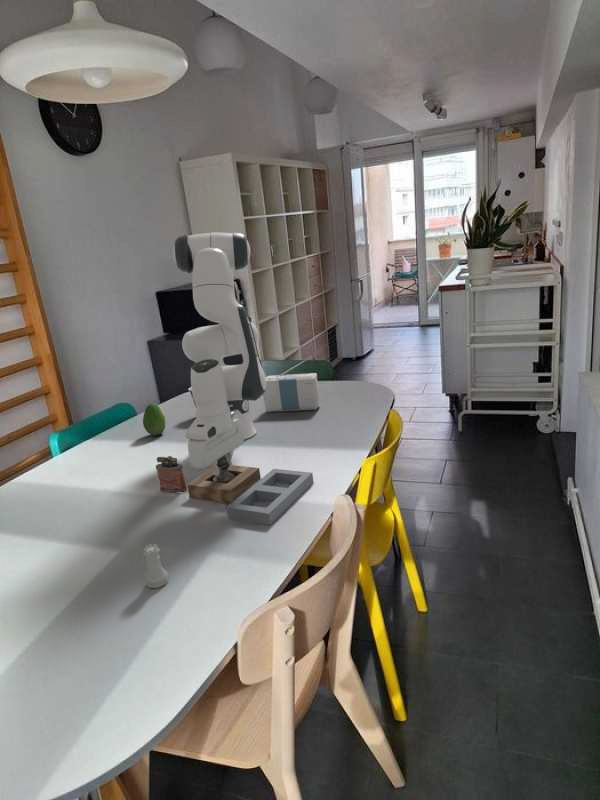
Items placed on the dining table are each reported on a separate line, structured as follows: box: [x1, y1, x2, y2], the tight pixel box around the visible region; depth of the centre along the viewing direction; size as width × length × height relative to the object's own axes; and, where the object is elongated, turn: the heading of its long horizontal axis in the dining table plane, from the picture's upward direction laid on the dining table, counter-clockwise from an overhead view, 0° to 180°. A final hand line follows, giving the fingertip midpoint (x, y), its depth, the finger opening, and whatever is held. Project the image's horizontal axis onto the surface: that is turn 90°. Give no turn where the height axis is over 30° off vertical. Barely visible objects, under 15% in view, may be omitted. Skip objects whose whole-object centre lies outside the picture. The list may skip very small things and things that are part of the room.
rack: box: [225, 468, 314, 526], centre depth 139 cm, size 12×23×3 cm, turn 153°
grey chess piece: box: [213, 455, 235, 483], centre depth 147 cm, size 6×6×12 cm
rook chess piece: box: [142, 543, 169, 589], centre depth 109 cm, size 4×4×8 cm
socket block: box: [186, 464, 262, 505], centre depth 148 cm, size 14×14×4 cm
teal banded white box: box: [262, 356, 321, 413], centre depth 210 cm, size 21×8×20 cm, turn 77°
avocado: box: [142, 402, 166, 437], centre depth 200 cm, size 8×8×12 cm
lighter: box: [155, 455, 188, 494], centre depth 151 cm, size 8×3×10 cm, turn 71°
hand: (222, 470), depth 147 cm, fingers closed on grey chess piece, 4 cm apart
